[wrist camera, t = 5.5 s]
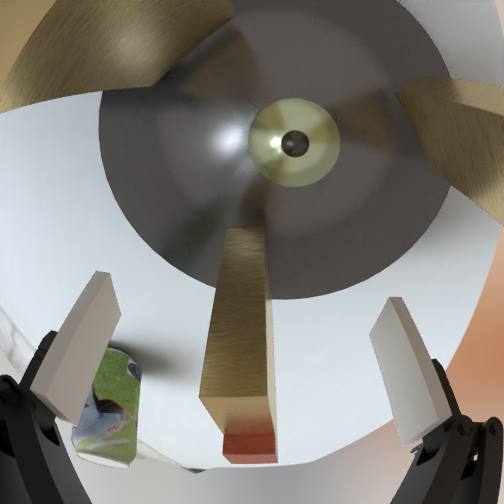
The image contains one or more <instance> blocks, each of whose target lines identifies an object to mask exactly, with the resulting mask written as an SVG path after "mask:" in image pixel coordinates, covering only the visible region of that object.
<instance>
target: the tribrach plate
mask: <svg viewBox="0 0 504 504" xmlns="http://www.w3.org/2000/svg"><path fill="white" fill-rule="evenodd" d="M232 3H233V7H234V10H235V13H236V17H235V18H233V19H232V20H230V21H229V22H227V23H226V24H225V25H223V26H222V27H221V28H219V29H218V30H217V31H215V32H214V33H213V34H211V35H210V36H209V37H207V38H206V39H205V40H204V41H202V42H201V43H200V44H199V45H197V46H196V47H195V48H194V49H193V50H191V51H190V52H189V53H188V54H187V55H186V56H184V57H183V58H182V59H181V60H180V61H179V62H178V63H177V64H175V65H174V66H173V67H172V68H171V69H170V70H169V71H168V72H167V73H166V74H165V75H164V76H163V77H162V78H161V79H160V80H159V81H157V82H156V83H155V84H154V85H153V86H151V87H135V88H122V89H113V90H104V91H103V93H102V98H101V104H100V110H99V142H100V151H101V158H102V162H103V166H104V170H105V173H106V177H107V180H108V183H109V185H110V188H111V190H112V192H113V195H114V197H115V200H116V201H117V203H118V205H119V207H120V208H121V210H122V212H123V214H124V215H125V217H126V219H127V220H128V221H129V223H130V224H131V225H132V227H133V228H134V229H135V231H136V232H137V233H138V234H139V236H140V237H141V238H142V239H143V240H144V241H145V242H146V243H147V244H148V245H149V246H150V247H151V248H152V249H153V250H154V251H155V252H156V253H157V254H159V255H160V256H161V257H162V258H163V259H165V260H166V261H167V262H168V263H170V264H171V265H173V266H174V267H176V268H177V269H179V270H180V271H182V272H184V273H185V274H187V275H188V276H190V277H192V278H194V279H196V280H198V281H201V282H203V283H205V284H207V285H209V286H212V287H215V288H216V286H217V280H218V275H219V269H220V264H221V258H222V253H223V248H224V242H225V237H226V232H227V229H228V228H237V227H247V226H256V225H263V229H264V237H265V246H266V254H267V263H268V271H269V280H270V289H271V298H272V299H283V300H288V299H301V298H309V297H315V296H320V295H325V294H329V293H333V292H336V291H339V290H343V289H346V288H348V287H351V286H353V285H355V284H358V283H360V282H362V281H365V280H366V279H368V278H370V277H372V276H374V275H375V274H377V273H379V272H381V271H382V270H384V269H385V268H387V267H388V266H389V265H391V264H392V263H394V262H395V261H396V260H398V259H399V258H400V257H401V256H402V255H403V254H404V253H406V252H407V251H408V250H409V249H410V248H411V247H412V246H413V245H414V244H415V243H416V242H417V241H418V239H419V238H420V237H421V236H422V235H423V234H424V233H425V231H426V230H427V228H428V227H429V226H430V224H431V223H432V221H433V220H434V218H435V217H436V215H437V214H438V212H439V210H440V208H441V206H442V204H443V202H444V200H445V198H446V196H447V193H448V191H449V188H450V185H451V184H449V183H448V182H446V181H445V180H443V179H442V178H440V177H439V176H437V175H436V174H434V173H433V172H432V169H431V167H430V164H429V162H428V160H427V157H426V155H425V153H424V150H423V148H422V146H421V144H420V142H419V140H418V137H417V135H416V133H415V131H414V129H413V127H412V125H411V123H410V121H409V119H408V118H407V116H406V114H405V112H404V110H403V108H402V106H401V105H400V103H399V101H398V99H397V98H396V96H395V94H394V92H393V91H394V90H396V89H398V88H399V87H401V86H403V85H404V84H406V83H408V82H409V81H411V80H413V79H414V78H416V77H418V76H427V77H441V78H450V75H449V72H448V69H447V67H446V65H445V63H444V61H443V59H442V57H441V55H440V53H439V51H438V49H437V47H436V46H435V44H434V43H433V41H432V40H431V38H430V37H429V35H428V34H427V32H426V31H425V30H424V28H423V27H422V26H421V25H420V24H419V23H418V21H417V20H416V19H415V18H414V17H413V16H412V15H411V14H410V13H409V12H408V11H407V10H406V9H405V8H404V7H403V6H402V5H401V4H399V3H398V2H397V1H396V0H232Z"/></svg>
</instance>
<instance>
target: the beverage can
mask: <svg viewBox="0 0 504 504" xmlns="http://www.w3.org/2000/svg"><path fill="white" fill-rule="evenodd" d="M141 375H142V369H141V367H140V365H139V364H138V363H137V362H136V361H135V360H134V359H133V358H132V357H131V356H129V355H128V354H126V353H125V352H123V351H120V350H117V349H113V348H106V350H105V353H104V355H103V357H102V360H101V362H100V365H99V367H98V370H97V372H96V375H95V377H94V380H93V383H92V385H91V388H90V391H89V393H88V396H87V399H86V402H85V405H84V408H83V410H82V413H81V416H80V419H79V422H78V426H77V427H75V426H73V428H72V435H71V441H72V443H73V445H74V447H75V449H76V455H77V456H78V457H80V458H82V459H84V460H87V461H89V462H92V463H95V464H99V465H102V466H107V467H113V468H120V469H128V468H129V467H130V466H129V465H130V463H131V462H132V461H133V460H134V458H135V456H136V447H137V424H138V409H139V396H140V385H141Z"/></svg>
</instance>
